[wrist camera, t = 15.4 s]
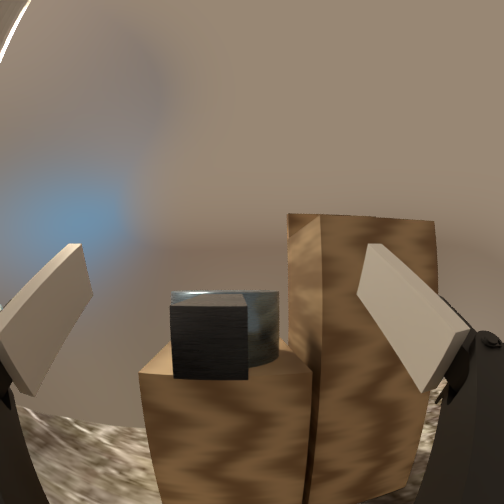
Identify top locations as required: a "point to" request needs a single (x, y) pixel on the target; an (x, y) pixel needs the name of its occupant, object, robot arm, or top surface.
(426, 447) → the top surface
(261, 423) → the pine stand
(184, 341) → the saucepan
